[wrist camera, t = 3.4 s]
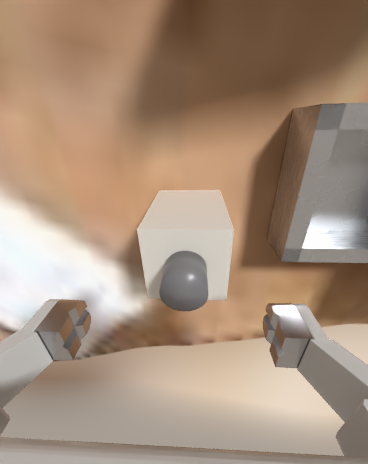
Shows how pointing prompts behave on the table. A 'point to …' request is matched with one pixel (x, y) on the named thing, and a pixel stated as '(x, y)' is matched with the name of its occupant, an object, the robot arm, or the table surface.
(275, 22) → the table surface
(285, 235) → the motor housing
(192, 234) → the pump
